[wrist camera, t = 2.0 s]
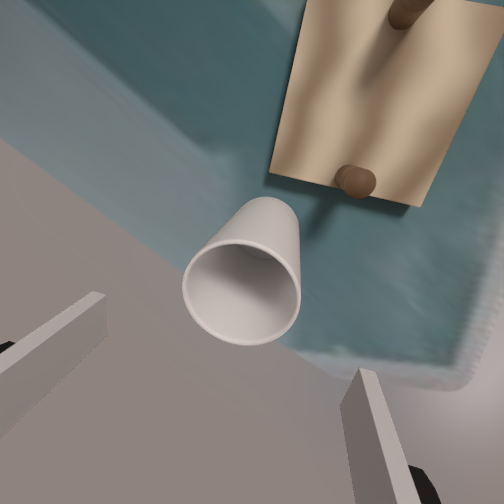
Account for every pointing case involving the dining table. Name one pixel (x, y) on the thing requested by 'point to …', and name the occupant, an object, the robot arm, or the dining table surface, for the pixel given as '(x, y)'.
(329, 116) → the peg board
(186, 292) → the cup
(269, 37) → the dining table surface
